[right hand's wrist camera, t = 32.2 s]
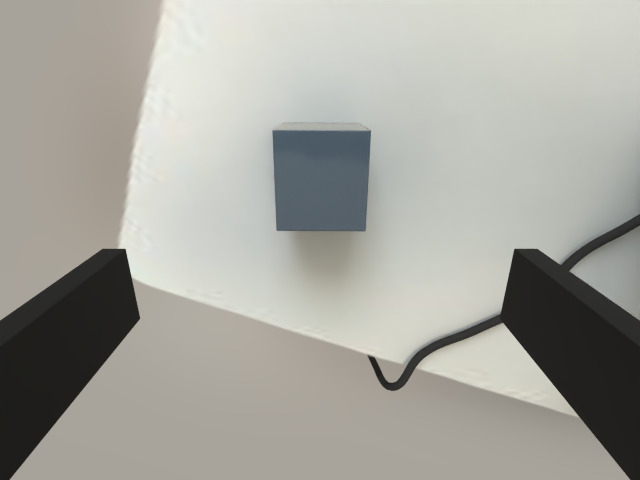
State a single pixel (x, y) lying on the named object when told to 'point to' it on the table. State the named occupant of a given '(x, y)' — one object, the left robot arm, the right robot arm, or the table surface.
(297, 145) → the grey cube
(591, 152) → the table surface
